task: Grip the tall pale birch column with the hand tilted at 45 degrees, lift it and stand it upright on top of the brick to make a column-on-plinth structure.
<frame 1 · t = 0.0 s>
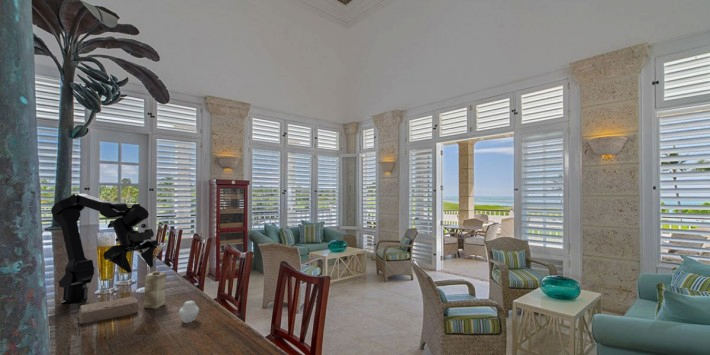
hand: (141, 269, 125), 15 cm above the table, tool tilted 35°, fingers open, 9 cm apart
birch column: (154, 305, 130), on the table
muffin: (188, 321, 116), on the table
brick: (108, 316, 119), on the table
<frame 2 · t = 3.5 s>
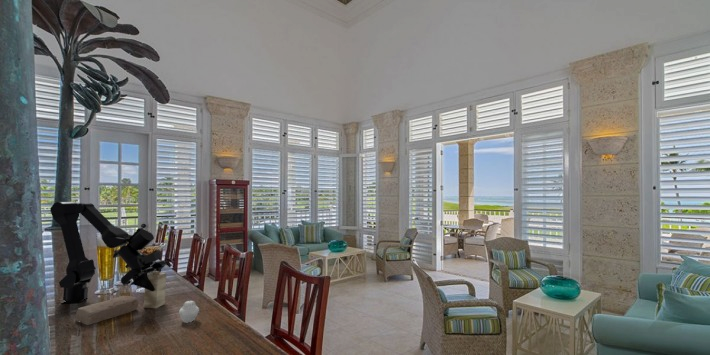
hand: (158, 288, 130), 7 cm above the table, tool tilted 45°, fingers closed on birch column, 5 cm apart
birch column: (154, 305, 130), on the table, touching gripper
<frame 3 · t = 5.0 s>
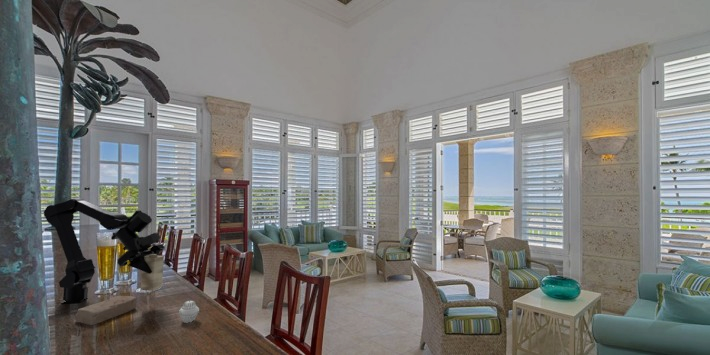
hand: (155, 271, 129), 13 cm above the table, tool tilted 45°, fingers closed on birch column, 5 cm apart
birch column: (151, 288, 129), point 7 cm above the table, touching gripper
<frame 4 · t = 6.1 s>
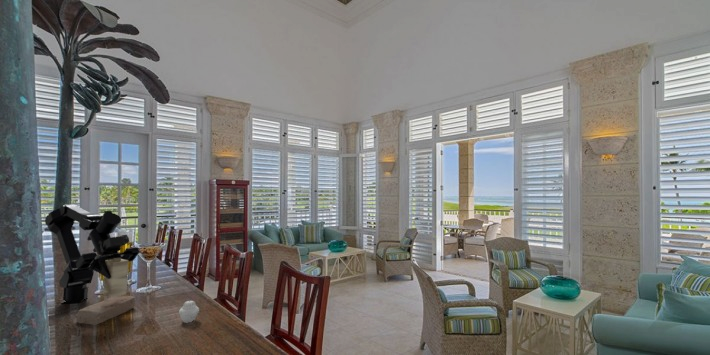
hand: (118, 276, 120), 13 cm above the table, tool tilted 45°, fingers closed on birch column, 5 cm apart
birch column: (114, 294, 121), point 7 cm above the table, touching gripper
when the fingers open (12 cm above the table, at t = 6.7 s): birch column drops 2 cm, resting on brick.
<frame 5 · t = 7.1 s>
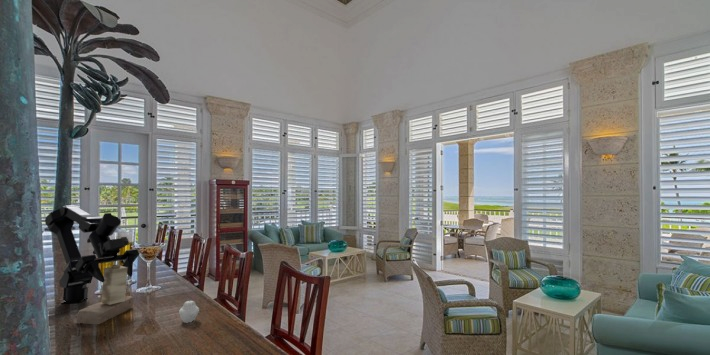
hand: (117, 278, 120), 13 cm above the table, tool tilted 45°, fingers open, 9 cm apart
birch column: (113, 301, 120), point 4 cm above the table, touching brick
brick: (106, 316, 119), on the table, touching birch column
everything else where it was.
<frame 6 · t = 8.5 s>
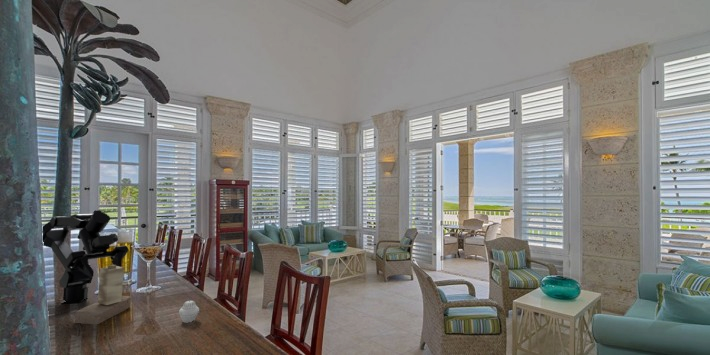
hand: (106, 274, 123), 13 cm above the table, tool tilted 45°, fingers open, 9 cm apart
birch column: (109, 302, 120), point 4 cm above the table, touching brick
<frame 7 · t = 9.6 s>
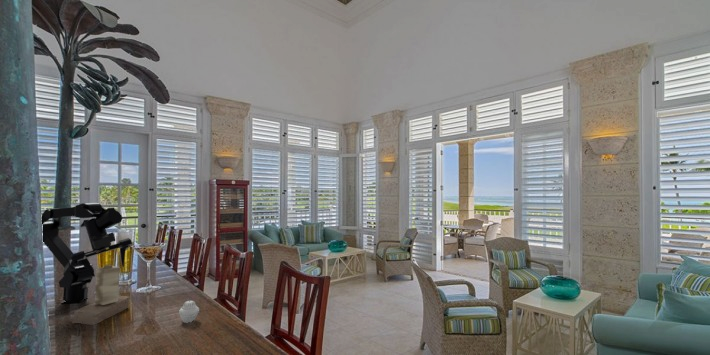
hand: (109, 271, 129), 13 cm above the table, tool tilted 25°, fingers open, 9 cm apart
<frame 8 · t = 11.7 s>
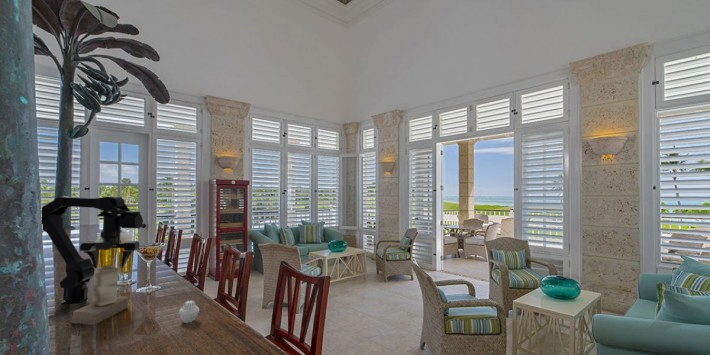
hand: (109, 267, 133), 13 cm above the table, tool pointing down, fingers open, 9 cm apart
at the end: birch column inside the target area on the brick (0.7 cm from its centre), point 4.9 cm above the brick's base; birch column tilted 0°; the gripper is holding nothing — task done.
